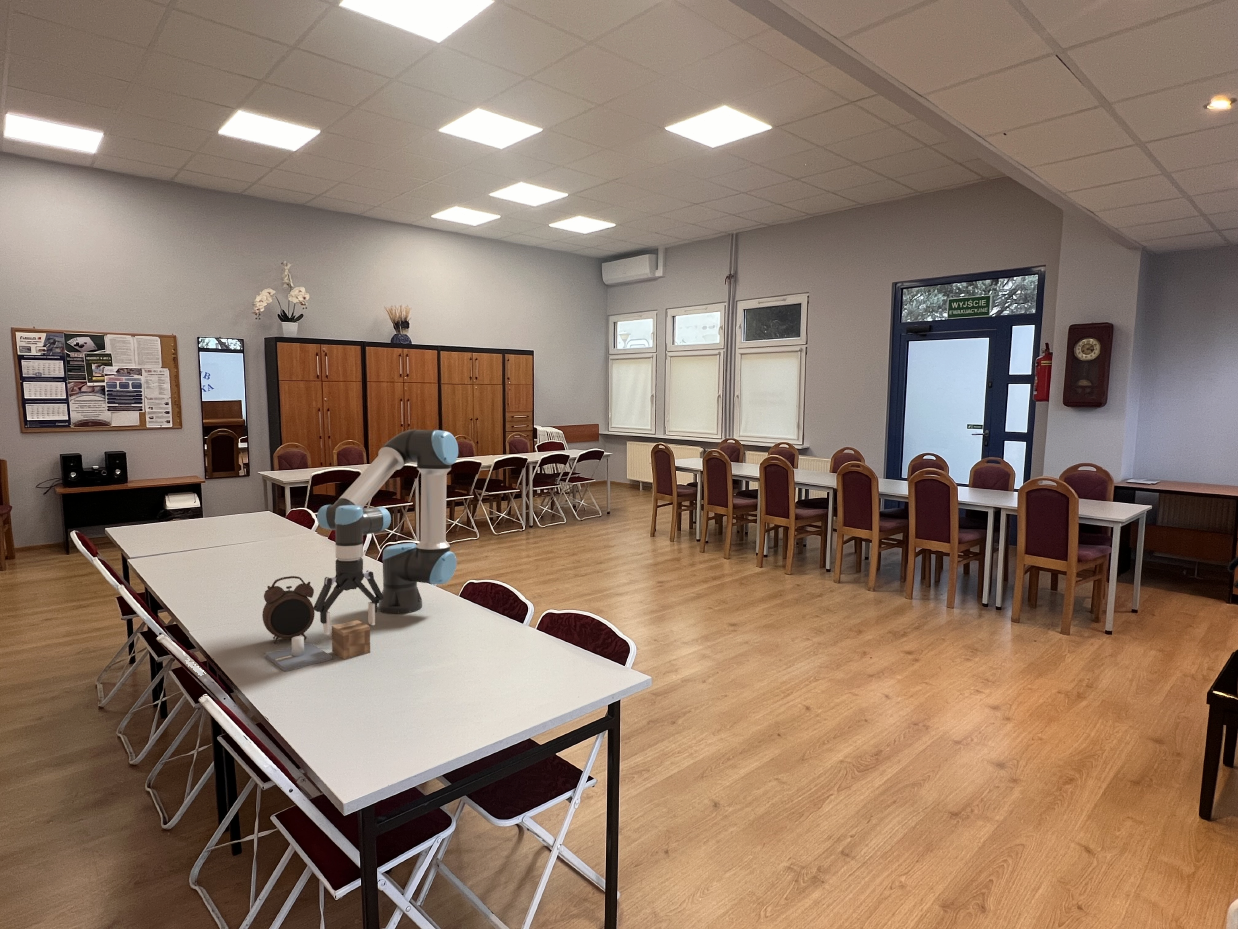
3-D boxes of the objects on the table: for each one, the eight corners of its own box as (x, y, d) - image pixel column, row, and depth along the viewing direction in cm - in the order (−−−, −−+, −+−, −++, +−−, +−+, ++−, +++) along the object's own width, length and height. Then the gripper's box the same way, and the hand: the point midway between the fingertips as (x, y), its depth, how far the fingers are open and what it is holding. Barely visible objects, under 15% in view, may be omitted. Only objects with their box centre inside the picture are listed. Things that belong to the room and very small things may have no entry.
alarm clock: (266, 648, 205) (264, 583, 203) (262, 641, 211) (260, 577, 209) (317, 638, 214) (316, 576, 212) (312, 632, 219) (310, 571, 218)
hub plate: (310, 645, 207) (310, 626, 207) (331, 659, 197) (331, 639, 197) (265, 656, 198) (264, 636, 198) (284, 671, 188) (284, 650, 187)
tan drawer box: (358, 645, 208) (357, 619, 208) (370, 652, 203) (369, 625, 202) (332, 652, 203) (331, 625, 202) (343, 659, 197) (343, 631, 196)
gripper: (383, 550, 212) (383, 617, 213) (300, 562, 194) (301, 634, 195) (395, 554, 207) (395, 623, 208) (311, 566, 189) (312, 641, 190)
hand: (349, 629), depth 202 cm, fingers open, 13 cm apart
